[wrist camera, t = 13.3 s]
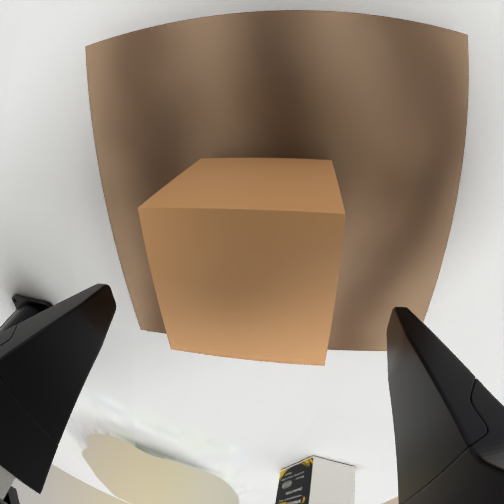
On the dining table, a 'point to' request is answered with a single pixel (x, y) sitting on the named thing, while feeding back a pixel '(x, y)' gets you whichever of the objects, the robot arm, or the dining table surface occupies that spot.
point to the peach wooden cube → (247, 257)
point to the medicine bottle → (316, 483)
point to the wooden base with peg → (294, 137)
